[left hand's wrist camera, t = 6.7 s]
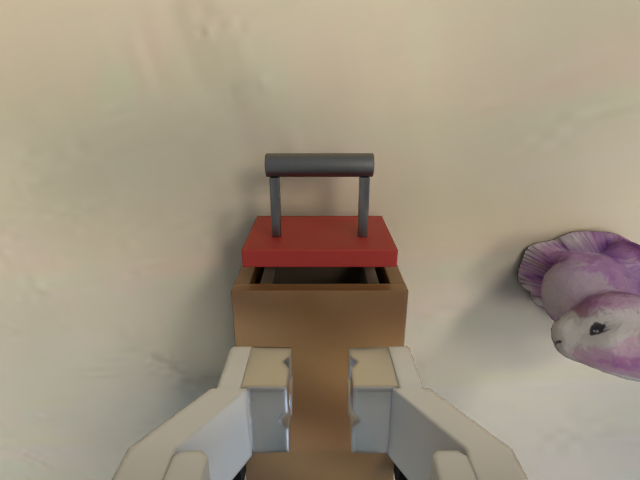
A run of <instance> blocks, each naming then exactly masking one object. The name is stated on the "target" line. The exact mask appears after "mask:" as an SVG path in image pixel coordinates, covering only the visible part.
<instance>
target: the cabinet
mask: <svg viewBox="0 0 640 480" xmlns="http://www.w3.org/2000/svg"><path fill="white" fill-rule="evenodd" d="M374 268H375V271H376V274H377V278H378V281H379V284H260V282H261V279H262V275H263V272H264V269H265V267H243V265H242V267H241V269H240V272H239V274H238V276H237V279H236V281H235V283H234V286H233V288H232V290H231V296H232V308H233V321H234V333H235V345H236V346H251V347H253V346H257V347H292V359H293V363H292V376H293V409H292V416H291V433H290V444H289V452H280V453H252V456H251V458H250V459H249V460H248V461H247V462H246V464H245V466H246V479H247V480H393V476H394V462H393V461H392V460H391V458H390V457H389V456H388V453H359V452H351V443H350V433H349V416H348V408H347V376H348V375H349V374H348V363H347V359H348V348H364V347H394V346H404V338H405V326H406V313H407V300H408V289H407V287H406V285H405V283H404V280H403V278H402V276H401V273H400V271H399V269H398V266H396V267H374Z"/></svg>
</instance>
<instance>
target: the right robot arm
mask: <svg viewBox="0 0 640 480" xmlns="http://www.w3.org/2000/svg"><path fill="white" fill-rule="evenodd" d="M245 473H246V466H245V465H244V466H243V467H242V469H241V470H240V471H239V472H238V473H237V475H236V476H235V477H234V478H233V480H244V479H245ZM394 475H395V480H408V479H407V478H406V477H405V476H404V474H403V473H402V472H401V471H400V469H399V468H398V467H397V466H396V464H395V463H394Z"/></svg>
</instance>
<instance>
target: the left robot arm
mask: <svg viewBox="0 0 640 480" xmlns="http://www.w3.org/2000/svg"><path fill="white" fill-rule="evenodd" d="M292 363H293V359H292V347H257V346H253V347H251V346H233V347H232V348H231V349H230V351H229V354H228V357H227V360H226V363H225V366H224V369H223V372H222V375H221V378H220V380H219V383H218V386H217V388H211V389H209V390H208V391H207V392H205V393H204V394H203V395H201V396H200V397H198V398H197V399H196V400H194V401H193V402H192V403H190V404H189V405H188V406H186V407H185V408H183V409H182V410H181V411H179V412H178V413H177V414H175V415H174V416H172V417H171V418H170V419H168V420H167V421H166V422H164V423H163V424H162V425H160V426H159V427H157V428H156V429H155V430H153V431H152V432H151V433H149V434H148V435H146V436H145V437H144V438H142V439H141V440H140V441H138V442H137V443H136V444H134V445H133V446H131V447H130V448H129V449H128V450H127V452H126V454H125V456H124V458H123V460H122V462H121V464H120V465H119V467H118V469H117V471H116V473H115V475H114V477H113V479H112V480H233V478H234V477H235V476H236V475H237V473H238V472H239V471H240V470H241V469H242V467H243V466H244V465H245V464H246V462H247V461H248V460H249V459H250V458H251V456H252V453H280V452H289V444H290V433H291V416H292V409H293V376H292ZM347 363H348V374H349V375H348V376H347V408H348V416H349V433H350V443H351V452H359V453H388V456H389V457H390V458H391V460H392V461H393V462H394V463H395V464H396V466H397V467H398V468H399V469H400V471H401V472H402V473H403V474H404V476H405V477H406V478H407V479H408V480H528V478H527V476H526V475H525V473H524V471H523V469H522V467H521V465H520V463H519V461H518V459H517V457H516V456H515V454H514V452H513V450H512V449H511V448H510V447H508V446H507V445H506V444H504V443H503V442H502V441H500V440H499V439H497V438H496V437H495V436H493V435H492V434H491V433H489V432H488V431H487V430H485V429H484V428H482V427H481V426H480V425H478V424H477V423H476V422H474V421H473V420H472V419H470V418H469V417H467V416H466V415H465V414H463V413H462V412H461V411H459V410H458V409H457V408H455V407H454V406H452V405H451V404H450V403H448V402H447V401H446V400H444V399H443V398H442V397H440V396H439V395H437V394H436V393H435V392H433V391H432V390H431V389H429V388H423V386H422V383H421V380H420V378H419V375H418V372H417V369H416V366H415V363H414V360H413V357H412V354H411V352H410V349H409V347H407V346H394V347H364V348H348V359H347Z"/></svg>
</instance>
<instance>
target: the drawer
mask: <svg viewBox="0 0 640 480" xmlns="http://www.w3.org/2000/svg"><path fill="white" fill-rule="evenodd" d="M265 173H266V176H267V177H270V200H271V216H258V217H257V219H256V221H255V223H254V225H253V227H252V229H251V231H250V233H249V236H248V238H247V240H246V242H245V244H244V246H243V248H242V265H243V267H265V269H264V272H263V275H262V279H261V282H260V284H379V281H378V278H377V274H376V271H375V268H374V267H396V266H397V254H398V250H397V248H396V245H395V243H394V241H393V239H392V237H391V235H390V233H389V231H388V228H387V226H386V224H385V222H384V220H383V218H382V216H368V206H369V181H370V178H369V177H372V176H373V174H374V155H373V153H299V154H266V155H265ZM280 177H359V205H358V216H281V199H280Z"/></svg>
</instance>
